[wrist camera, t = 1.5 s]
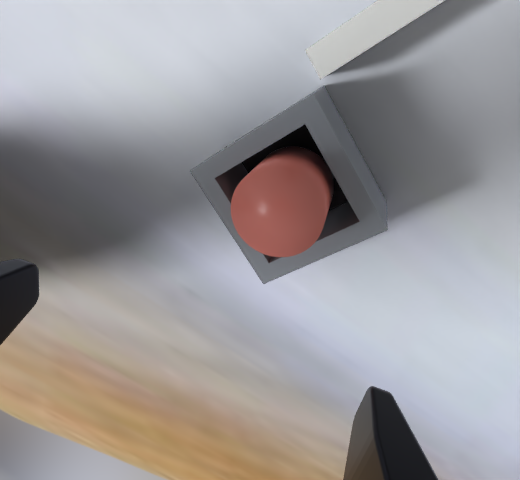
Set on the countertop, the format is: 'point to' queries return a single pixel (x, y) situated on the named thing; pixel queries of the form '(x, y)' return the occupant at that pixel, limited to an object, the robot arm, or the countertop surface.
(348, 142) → the plunger block
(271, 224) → the plunger
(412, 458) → the robot arm
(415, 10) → the white u-shaped frame
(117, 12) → the countertop surface
